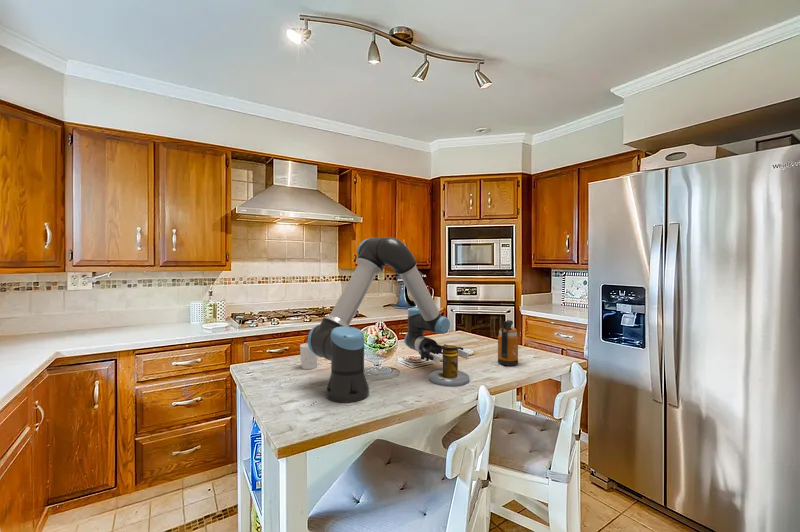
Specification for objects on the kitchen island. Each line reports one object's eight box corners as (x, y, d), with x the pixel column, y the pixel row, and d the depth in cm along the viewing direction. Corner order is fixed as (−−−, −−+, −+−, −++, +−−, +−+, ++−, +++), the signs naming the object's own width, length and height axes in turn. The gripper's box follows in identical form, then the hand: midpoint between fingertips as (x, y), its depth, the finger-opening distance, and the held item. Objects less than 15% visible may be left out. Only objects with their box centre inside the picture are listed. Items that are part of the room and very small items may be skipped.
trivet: (424, 383, 146) (424, 379, 146) (434, 371, 161) (434, 368, 161) (465, 388, 141) (465, 384, 141) (471, 375, 156) (471, 372, 156)
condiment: (460, 378, 148) (461, 348, 147) (439, 379, 146) (439, 349, 146) (455, 372, 155) (455, 344, 154) (435, 373, 154) (435, 344, 153)
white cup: (314, 370, 163) (314, 347, 162) (297, 369, 164) (296, 346, 164) (320, 365, 170) (320, 343, 170) (304, 364, 172) (304, 342, 171)
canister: (520, 362, 175) (520, 319, 174) (513, 368, 166) (514, 323, 165) (501, 359, 180) (501, 318, 179) (493, 365, 170) (494, 321, 170)
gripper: (449, 351, 173) (479, 363, 154) (401, 357, 162) (426, 371, 143) (450, 335, 172) (479, 345, 153) (401, 340, 161) (426, 352, 142)
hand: (453, 358), depth 148 cm, fingers open, 13 cm apart
